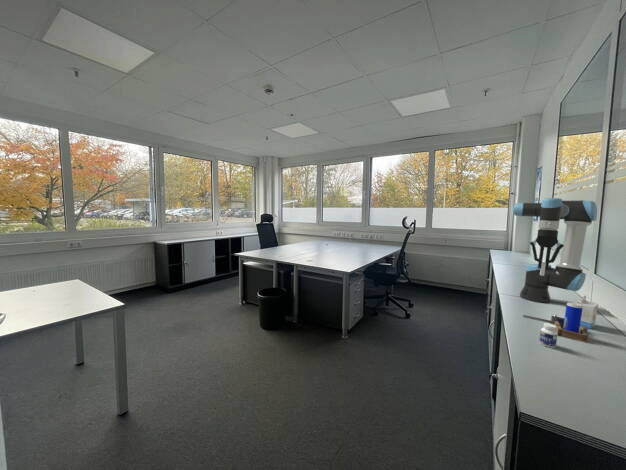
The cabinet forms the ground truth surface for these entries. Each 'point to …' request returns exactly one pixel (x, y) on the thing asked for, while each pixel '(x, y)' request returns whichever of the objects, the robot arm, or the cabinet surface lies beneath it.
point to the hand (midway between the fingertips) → (541, 275)
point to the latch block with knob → (559, 319)
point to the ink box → (588, 313)
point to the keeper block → (564, 333)
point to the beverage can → (572, 317)
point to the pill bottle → (548, 335)
